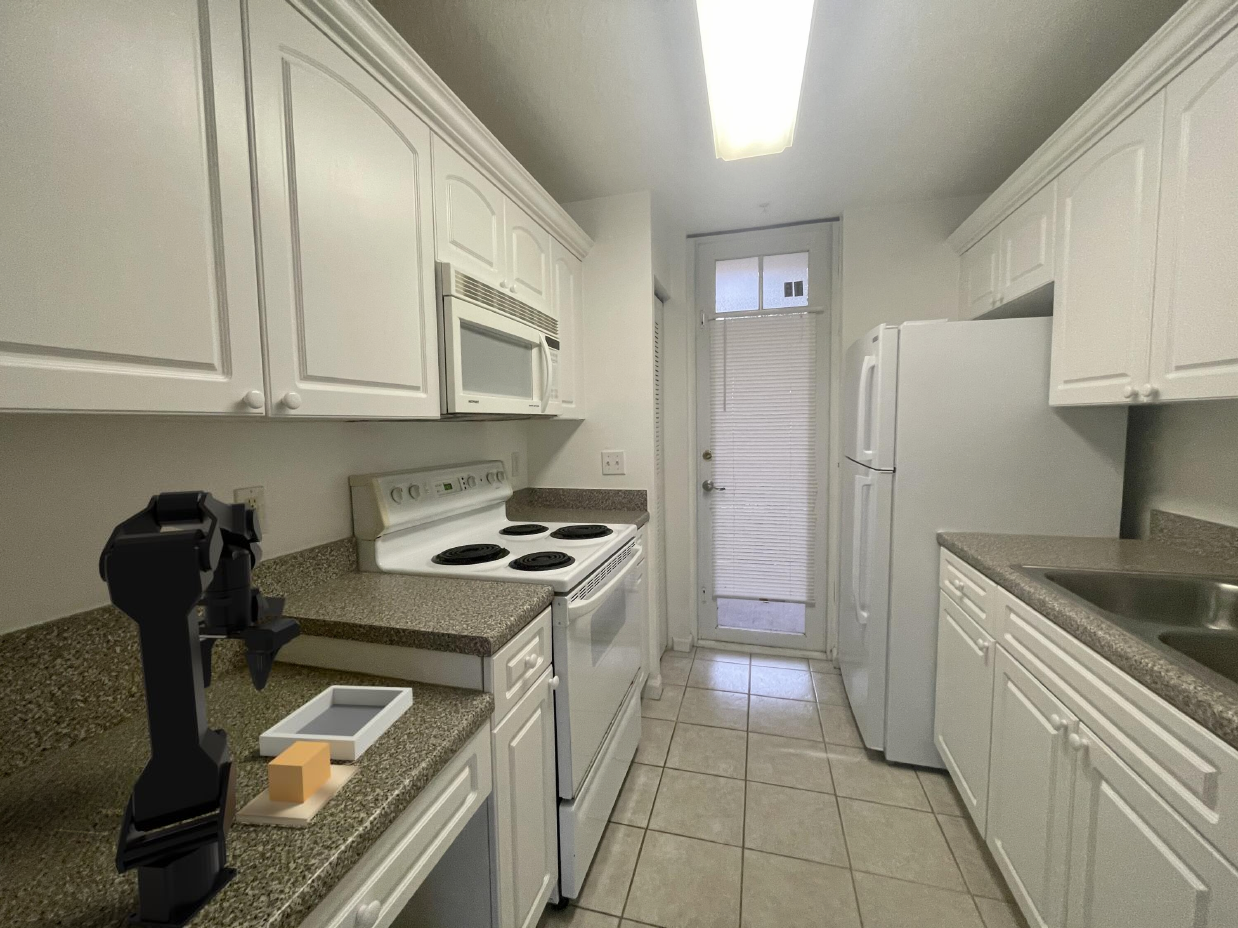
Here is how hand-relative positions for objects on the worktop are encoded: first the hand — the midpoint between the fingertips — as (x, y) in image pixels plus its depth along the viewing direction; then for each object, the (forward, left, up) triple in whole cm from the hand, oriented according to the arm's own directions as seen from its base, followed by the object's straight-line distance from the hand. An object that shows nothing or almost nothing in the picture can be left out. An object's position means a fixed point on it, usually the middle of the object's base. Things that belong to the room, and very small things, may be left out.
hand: (233, 688), depth 72 cm
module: (-5, -15, -11) cm, 19 cm away
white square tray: (+10, -10, -12) cm, 19 cm away
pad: (-5, -15, -12) cm, 20 cm away
